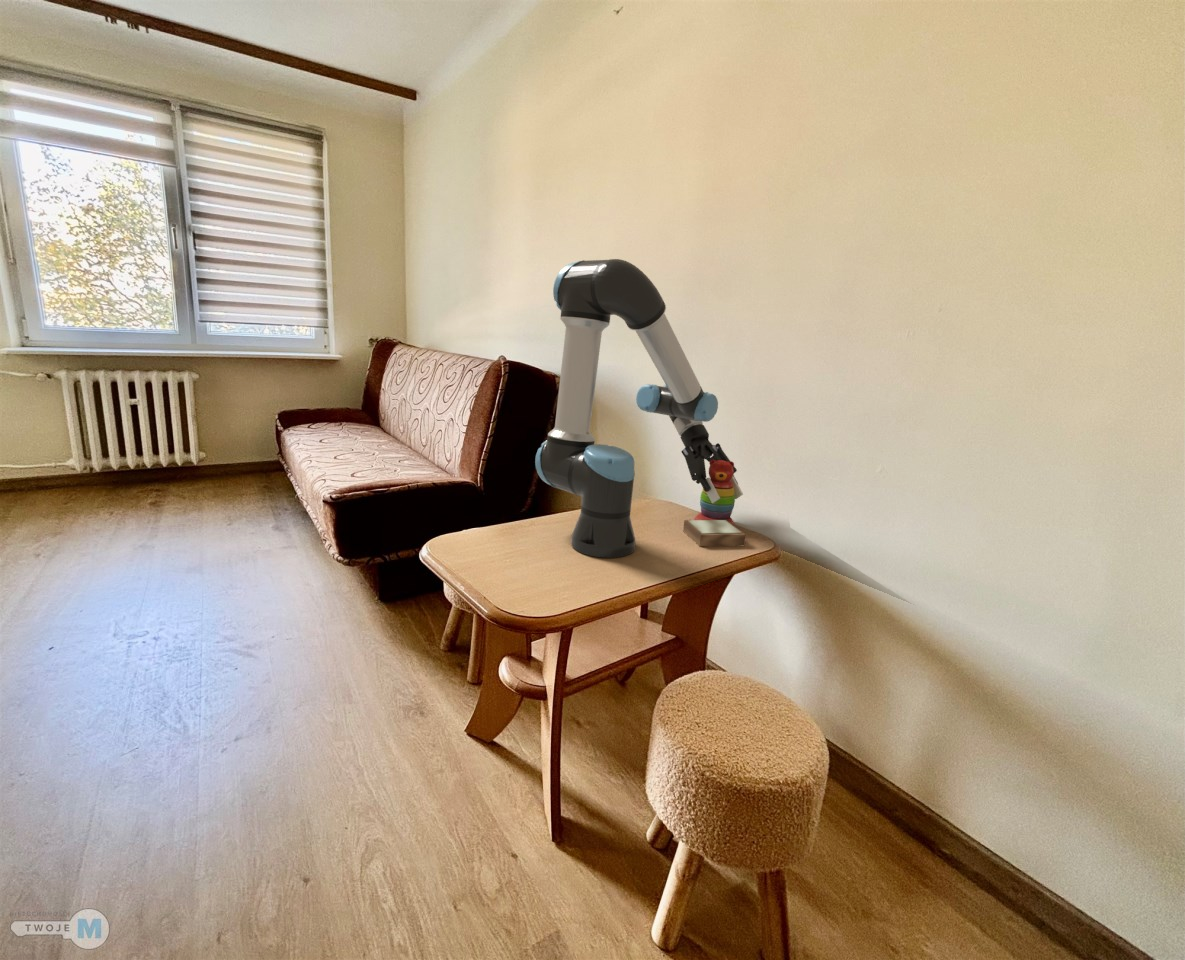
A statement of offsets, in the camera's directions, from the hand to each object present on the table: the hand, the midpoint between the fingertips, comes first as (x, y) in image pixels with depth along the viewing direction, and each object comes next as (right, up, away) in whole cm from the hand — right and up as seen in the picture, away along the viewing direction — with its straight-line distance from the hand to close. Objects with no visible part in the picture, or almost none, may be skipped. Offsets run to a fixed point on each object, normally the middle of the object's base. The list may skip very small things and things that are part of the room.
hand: (727, 498), depth 149 cm
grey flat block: (-6, -10, -8) cm, 14 cm away
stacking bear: (-3, -7, +4) cm, 9 cm away
